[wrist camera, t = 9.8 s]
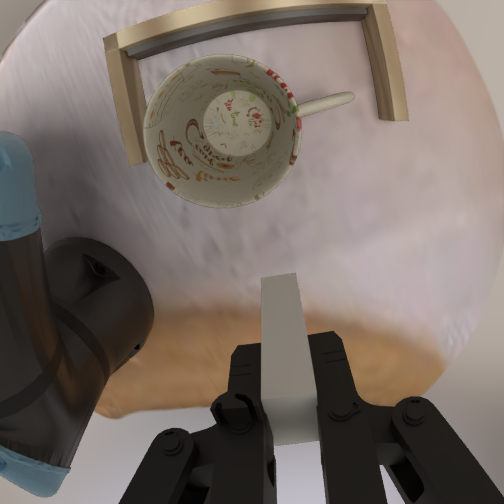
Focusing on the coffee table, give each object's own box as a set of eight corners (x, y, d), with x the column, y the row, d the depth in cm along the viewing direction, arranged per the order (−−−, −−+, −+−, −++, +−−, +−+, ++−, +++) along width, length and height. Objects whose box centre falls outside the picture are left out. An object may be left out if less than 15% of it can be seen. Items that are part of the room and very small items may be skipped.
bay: (145, 159, 26) (129, 166, 23) (121, 44, 21) (103, 38, 18) (392, 118, 23) (409, 120, 20) (368, 0, 19) (381, -13, 16)
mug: (172, 96, 23) (120, 94, 14) (318, 46, 21) (347, 13, 12) (208, 185, 27) (178, 229, 18) (350, 140, 24) (395, 160, 15)
